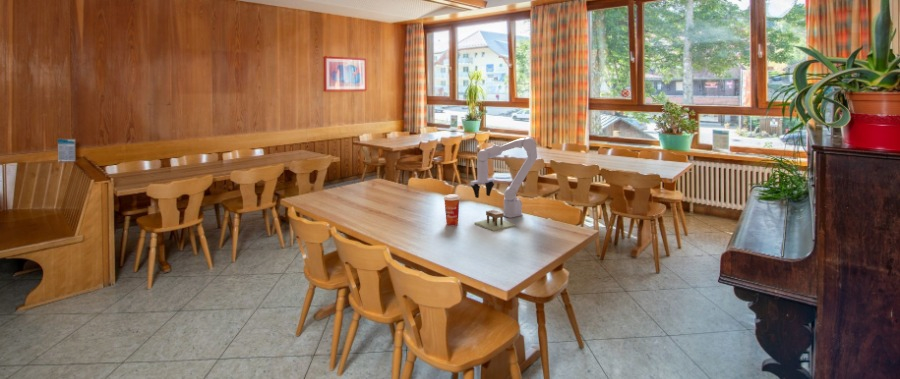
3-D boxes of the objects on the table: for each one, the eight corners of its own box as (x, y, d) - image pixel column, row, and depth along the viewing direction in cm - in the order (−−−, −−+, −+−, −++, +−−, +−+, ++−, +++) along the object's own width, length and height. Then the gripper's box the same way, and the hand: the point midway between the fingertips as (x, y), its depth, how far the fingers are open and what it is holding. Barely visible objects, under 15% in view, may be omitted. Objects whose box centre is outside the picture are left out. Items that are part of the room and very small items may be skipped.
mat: (495, 219, 255) (495, 217, 255) (515, 226, 242) (515, 224, 242) (474, 223, 248) (474, 222, 248) (493, 231, 235) (493, 229, 234)
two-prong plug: (503, 224, 243) (503, 212, 241) (495, 226, 240) (495, 214, 239) (493, 220, 249) (493, 209, 248) (486, 222, 247) (485, 211, 245)
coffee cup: (441, 225, 247) (440, 196, 244) (449, 221, 254) (448, 193, 251) (456, 227, 243) (455, 198, 240) (463, 222, 250) (462, 194, 247)
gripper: (488, 169, 266) (488, 193, 269) (467, 172, 258) (467, 197, 261) (496, 171, 260) (496, 195, 263) (475, 174, 253) (475, 199, 256)
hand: (482, 196), depth 262 cm, fingers open, 7 cm apart
